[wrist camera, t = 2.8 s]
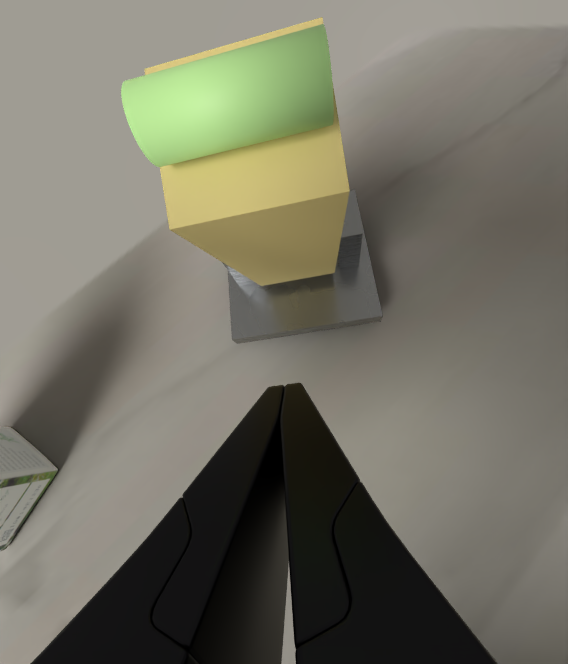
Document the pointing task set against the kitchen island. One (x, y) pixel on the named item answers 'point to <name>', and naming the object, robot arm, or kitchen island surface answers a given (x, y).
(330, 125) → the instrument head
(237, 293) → the base
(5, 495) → the syrup box
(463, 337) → the kitchen island surface
